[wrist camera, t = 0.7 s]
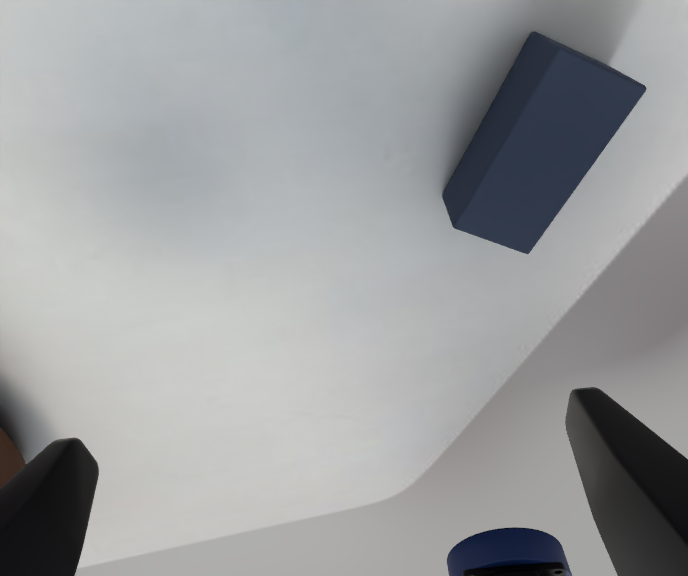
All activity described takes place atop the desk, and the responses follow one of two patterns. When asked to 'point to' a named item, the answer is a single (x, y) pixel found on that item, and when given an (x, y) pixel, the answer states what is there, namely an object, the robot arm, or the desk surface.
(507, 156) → the eraser
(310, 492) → the desk surface
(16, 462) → the dish
